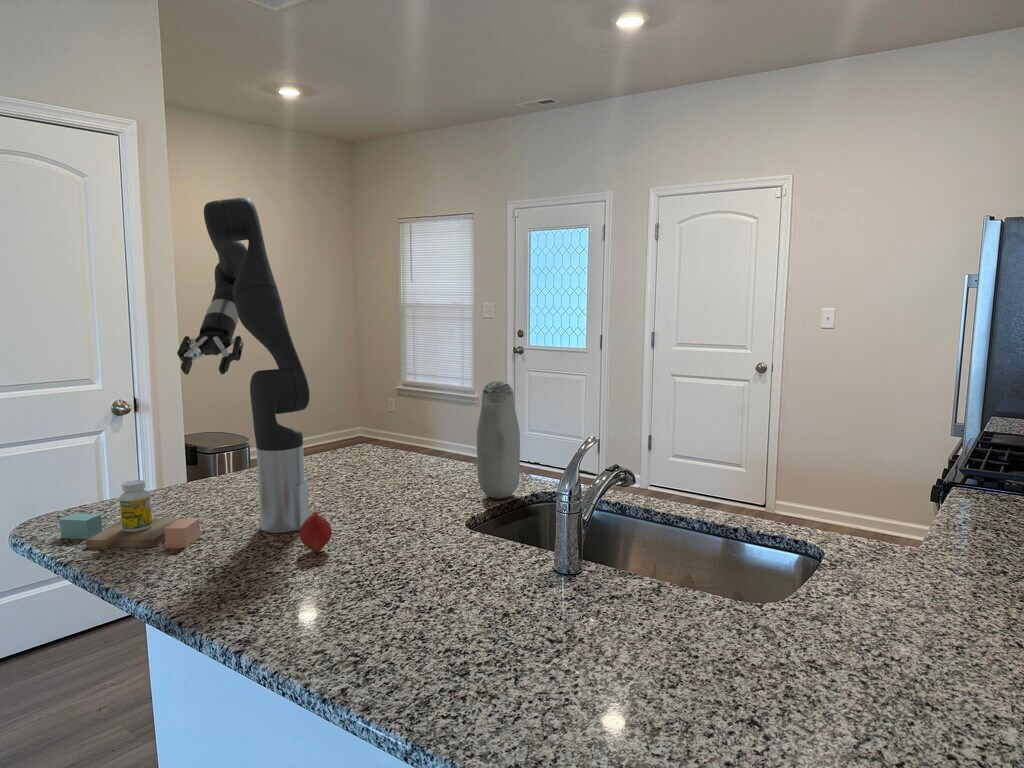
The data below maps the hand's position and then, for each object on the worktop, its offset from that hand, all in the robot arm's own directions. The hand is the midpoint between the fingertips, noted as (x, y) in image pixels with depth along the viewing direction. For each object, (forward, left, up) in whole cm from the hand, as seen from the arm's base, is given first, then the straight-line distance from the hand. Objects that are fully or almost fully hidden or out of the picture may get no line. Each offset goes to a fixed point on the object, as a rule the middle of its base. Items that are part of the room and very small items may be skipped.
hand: (203, 372), depth 161 cm
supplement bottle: (+4, +25, -29) cm, 39 cm away
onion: (-35, +35, -31) cm, 59 cm away
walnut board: (+4, +25, -31) cm, 40 cm away
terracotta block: (-7, +29, -31) cm, 43 cm away
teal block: (+16, +25, -31) cm, 43 cm away
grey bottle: (-69, +1, -31) cm, 76 cm away
